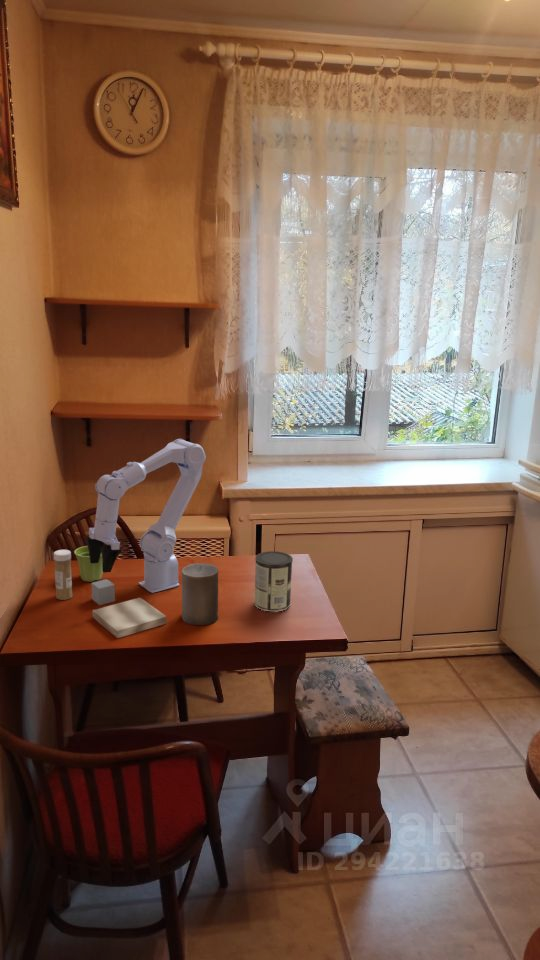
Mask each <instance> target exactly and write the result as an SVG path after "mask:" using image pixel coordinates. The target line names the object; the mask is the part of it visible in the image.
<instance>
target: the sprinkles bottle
mask: <svg viewBox="0 0 540 960" xmlns="http://www.w3.org/2000/svg"><path fill="white" fill-rule="evenodd" d="M71 559H72V552H71V550H68V549H58V550H55V551H54V552H53V560H54V578H55V579H54V580H55V581H54V582H55V591H56V592H55V593H56V594H55V598H56V599H58V600H61V601H63V600H64V601H66V600H69V599H71V598H72V597H73V596H74V595H73V588H72V587H73V582H72V580H73V579H72V567H71V561H72V560H71Z"/></svg>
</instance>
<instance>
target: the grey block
mask: <svg viewBox="0 0 540 960" xmlns="http://www.w3.org/2000/svg"><path fill="white" fill-rule="evenodd" d="M115 589H116V588H115V584H114V583H113V582H112V581H110V580H108V579H107V578H106V579H103V580H97V581H93V582H91V599H92V601H93V602H95V604H97V605H98V606H103V605H106V604H109V603H113V602H116V596H115V593H116V592H115Z"/></svg>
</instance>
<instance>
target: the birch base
mask: <svg viewBox="0 0 540 960" xmlns="http://www.w3.org/2000/svg"><path fill="white" fill-rule="evenodd" d="M92 618H93V619H94V620H95V621H97V622H98V624H100V625H101V626H102V627H104V628H105V629H106V630H107V631H108V632H110V633H111V634H112V635H113V636H114V637H115V638H117V639H121V638H124V637H127V636H130V635H133V634H136V633H141V632H144V631H146V630H149V629H152V628H153V629H154V628H157V627H159V626H160V627H161V626H163V625H166V624H167V615H165V614H164V613H162V612H161V611H160V610H158V609H157V608H155V607H154V606H153V605H151V604H150V603H149V602H147V601H146V600H144V599H143V598H141V597H137V598H133V599H129V600H125V601H122V602H118V603H116V604H115V603H114V604H111V605H108V606H107V605H106V606H103V607H100V608H99V607H98V608H97V609H92Z"/></svg>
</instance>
